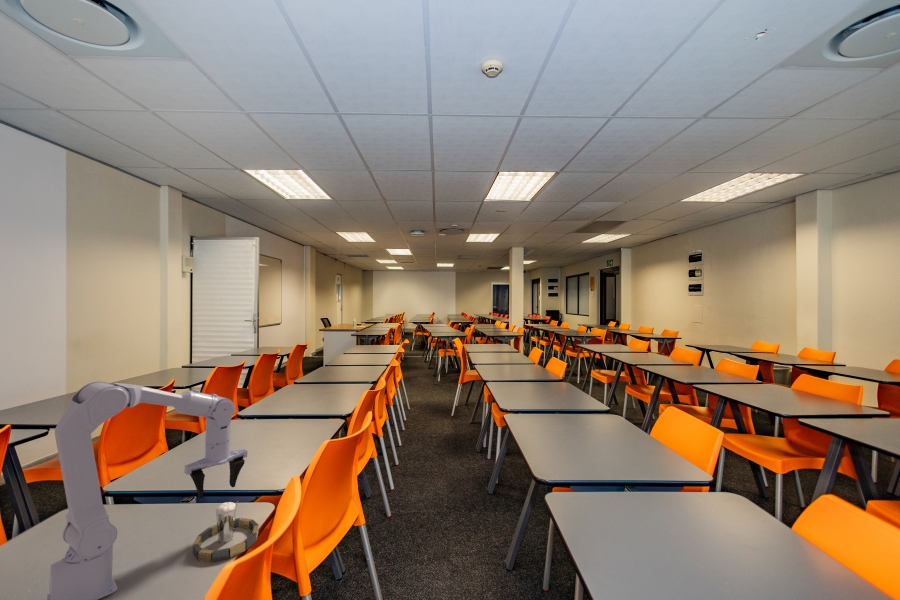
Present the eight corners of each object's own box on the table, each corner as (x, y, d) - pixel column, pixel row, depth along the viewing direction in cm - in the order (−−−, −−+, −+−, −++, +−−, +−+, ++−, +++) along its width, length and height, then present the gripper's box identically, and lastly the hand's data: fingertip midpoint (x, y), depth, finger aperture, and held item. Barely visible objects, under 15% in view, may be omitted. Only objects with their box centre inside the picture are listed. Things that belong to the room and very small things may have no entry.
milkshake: (232, 545, 92) (232, 505, 92) (211, 544, 92) (211, 505, 92) (242, 533, 96) (243, 496, 96) (222, 533, 96) (223, 496, 96)
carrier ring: (204, 570, 83) (205, 561, 83) (186, 544, 92) (186, 536, 92) (267, 540, 94) (267, 532, 94) (245, 519, 103) (245, 512, 103)
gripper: (190, 453, 90) (189, 508, 90) (252, 437, 101) (251, 485, 101) (182, 446, 95) (181, 498, 94) (242, 431, 106) (241, 478, 106)
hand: (216, 491), depth 98 cm, fingers open, 7 cm apart
